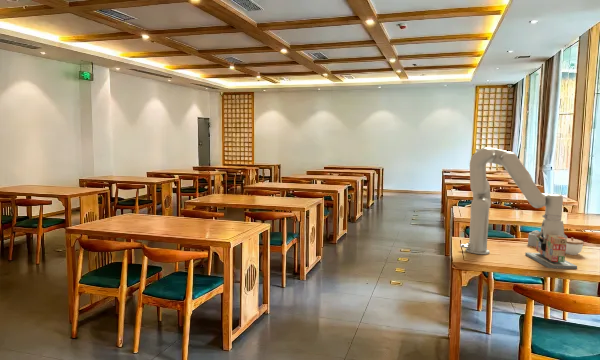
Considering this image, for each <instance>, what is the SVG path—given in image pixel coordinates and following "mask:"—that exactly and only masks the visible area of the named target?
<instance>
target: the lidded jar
mask: <svg viewBox="0 0 600 360" xmlns="http://www.w3.org/2000/svg"><path fill="white" fill-rule="evenodd" d="M583 246H584V241H583V240H581V239H577V238H574V237H571V238H568V237H567V242H566V251H565V255H570V256H577V255H578V254H580V253H581V252H582V250H583Z"/></svg>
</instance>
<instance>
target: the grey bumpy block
mask: <svg viewBox="0 0 600 360" xmlns="http://www.w3.org/2000/svg"><path fill="white" fill-rule="evenodd" d="M539 232H540V230H536V229H535V230H532V231H531V232H528V237H527V245H528V246H530V247H535V248H536V243H537V237H536V235H537V234H538V233H539Z"/></svg>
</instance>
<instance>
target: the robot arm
mask: <svg viewBox="0 0 600 360" xmlns="http://www.w3.org/2000/svg"><path fill="white" fill-rule="evenodd" d="M488 163H491V164H495V165H500V166H503V168H504V170H506V172H507V173H508V175H509V177H510V178H511V179H512V180H513V182H514V184H515V185H516V186H517V187H518V189H519V190H520V193H522V195H523V196H524V198H525V199H526V200H527V201H528V203H529V204H530V206H531V207H533V208H535V209H540V208H541V209H542V208H544V207H545V209H544V210H545V211H544V212H545V213H544V214H543V215H542V218H544V219H542V223H541V226H540V227H541V228H540V231H539V233H538V234H537V235H536V237H537V238H538V240H539V241H540V242H541V250H543V251H546V244H545V242H546V241H547V239H548V235H560V236H563V237H564V238H566V239H567V238H568V235H566V234H565V224H564V221H563V220H562V216H563V215H562V214H563V205H564V204H563V203H564V197H563V195H562V194H556V193H549V194H548V193H543V192H541V190H540V189H539V187H538V186H537V185H536V183H535V182H534V180H533V178H532V176H531V174H530V172H529V171H528V170H527V168H526V167H525V166H524V164H523V163H522V162H521V160H520V158H519V157H518V155H517V154H516V153H515V152H513V151H509V150H508V151H507V150H503V149H500V148H499V149H498V148H494V147H490V146H488V147H482V148H480V149H479V150H477V151H476V152H475V153H474V154H473V155H472V156H471V157H470V160H469V181H470V182H469V183H470V185H469V186H470V187H469V188H470V190H471V192H472V201H471V203H470V219H469V239H468V241H469V242H467V243H460V244H459V246H460V248H464V249H465V251H466V252H467V253H470V254H473V255H474V254H476V255H489V254H490V250H489V249H488V238H489V237H488V235H489V233H488V232H489V221H490V220H489V217H490V216H489V215H490V208H491V206H492V198H491V197H492V196H491V186H490V183H489V181H488V179H487V168H486V166H487V164H488ZM540 236H541V237H542V239H541V238H540Z"/></svg>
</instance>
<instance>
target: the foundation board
mask: <svg viewBox="0 0 600 360" xmlns="http://www.w3.org/2000/svg"><path fill="white" fill-rule="evenodd" d="M524 254H525V255H524V256H526V257H528V258H530V259H531V260H533V261H535V262H537V263H539V264H540V265H542V266H544V267H545V268H548V269H565V270H566V269H567V270H578V265H576V264H574V263H572V262H570V261H567V260H566V259H565V261H564V262H554V261H550V260H549V259H548V258H546V257H545V256H543V255H542V254H540V253H539V252H525V253H524Z"/></svg>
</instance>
